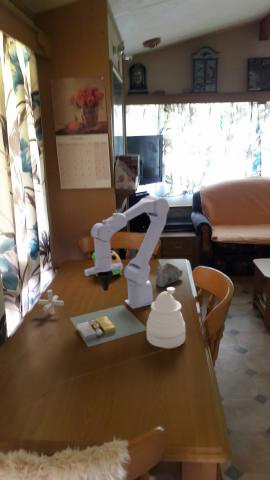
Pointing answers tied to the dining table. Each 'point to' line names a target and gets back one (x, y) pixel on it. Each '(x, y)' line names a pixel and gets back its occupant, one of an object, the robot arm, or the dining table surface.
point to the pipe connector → (50, 302)
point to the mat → (118, 317)
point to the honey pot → (166, 321)
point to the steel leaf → (89, 330)
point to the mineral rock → (167, 274)
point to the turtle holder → (114, 259)
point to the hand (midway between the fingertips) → (105, 289)
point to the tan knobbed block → (104, 325)
